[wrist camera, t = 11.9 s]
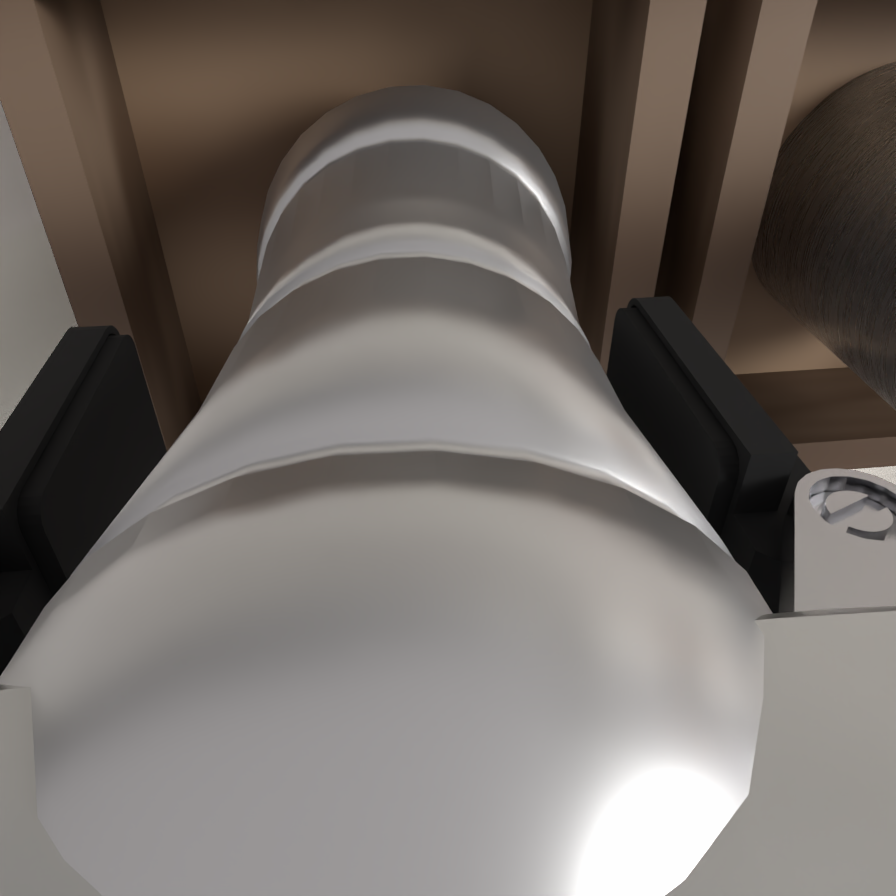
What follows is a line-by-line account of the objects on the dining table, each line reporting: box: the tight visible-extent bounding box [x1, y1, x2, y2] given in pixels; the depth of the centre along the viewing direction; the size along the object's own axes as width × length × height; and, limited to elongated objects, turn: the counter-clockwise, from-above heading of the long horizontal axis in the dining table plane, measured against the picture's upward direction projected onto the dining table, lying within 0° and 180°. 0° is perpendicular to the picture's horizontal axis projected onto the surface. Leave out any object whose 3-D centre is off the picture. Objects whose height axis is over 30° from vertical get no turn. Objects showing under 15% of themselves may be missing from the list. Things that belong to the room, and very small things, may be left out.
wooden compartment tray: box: [0, 0, 896, 472], centre depth 17 cm, size 14×26×4 cm, turn 90°
